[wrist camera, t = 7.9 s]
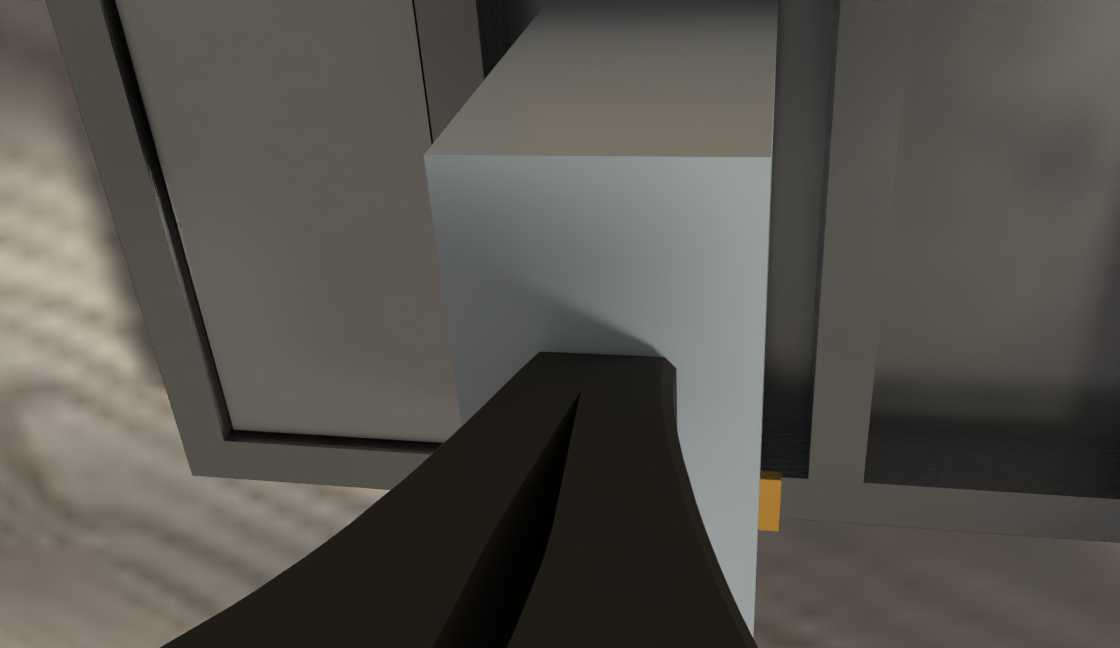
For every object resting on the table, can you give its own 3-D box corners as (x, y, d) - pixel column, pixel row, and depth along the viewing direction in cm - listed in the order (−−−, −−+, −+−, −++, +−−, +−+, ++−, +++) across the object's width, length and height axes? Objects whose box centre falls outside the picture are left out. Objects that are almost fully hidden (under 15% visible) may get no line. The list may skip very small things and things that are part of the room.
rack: (1188, 469, 17) (1237, 565, 15) (244, 413, 20) (188, 487, 18) (1393, -219, 12) (1506, -204, 10) (95, -146, 15) (-4, -124, 13)
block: (554, -7, 14) (423, 154, 9) (778, -12, 14) (771, 156, 9) (580, 383, 17) (495, 664, 12) (763, 393, 17) (751, 690, 12)
